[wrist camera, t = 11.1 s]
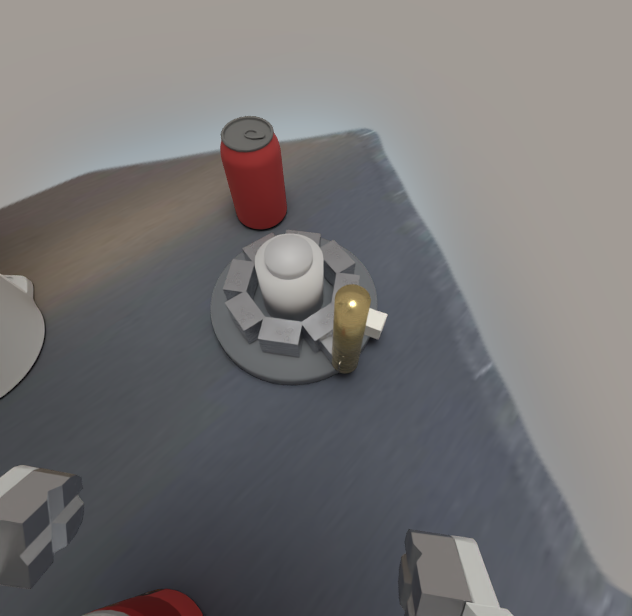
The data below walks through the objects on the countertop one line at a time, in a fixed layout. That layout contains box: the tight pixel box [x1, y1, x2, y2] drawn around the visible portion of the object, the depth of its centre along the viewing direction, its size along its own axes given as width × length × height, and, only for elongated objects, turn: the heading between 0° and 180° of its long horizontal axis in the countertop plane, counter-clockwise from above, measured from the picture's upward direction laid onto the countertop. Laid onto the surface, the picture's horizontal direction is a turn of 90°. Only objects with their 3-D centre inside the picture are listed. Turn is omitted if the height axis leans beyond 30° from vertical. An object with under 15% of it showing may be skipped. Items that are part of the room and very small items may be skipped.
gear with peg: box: [223, 230, 371, 373], centre depth 36 cm, size 17×13×12 cm
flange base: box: [211, 233, 387, 385], centre depth 39 cm, size 19×18×10 cm
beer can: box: [220, 116, 287, 229], centre depth 46 cm, size 7×7×12 cm
